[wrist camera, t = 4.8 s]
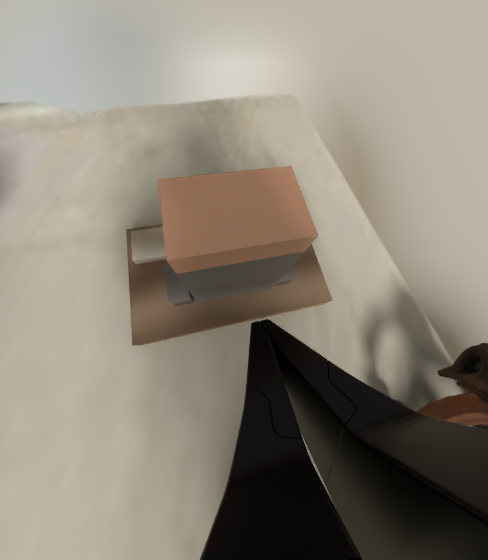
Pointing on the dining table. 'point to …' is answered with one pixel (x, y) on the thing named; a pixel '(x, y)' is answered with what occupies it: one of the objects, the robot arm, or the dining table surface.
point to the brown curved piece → (475, 379)
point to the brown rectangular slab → (212, 314)
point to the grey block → (234, 230)
